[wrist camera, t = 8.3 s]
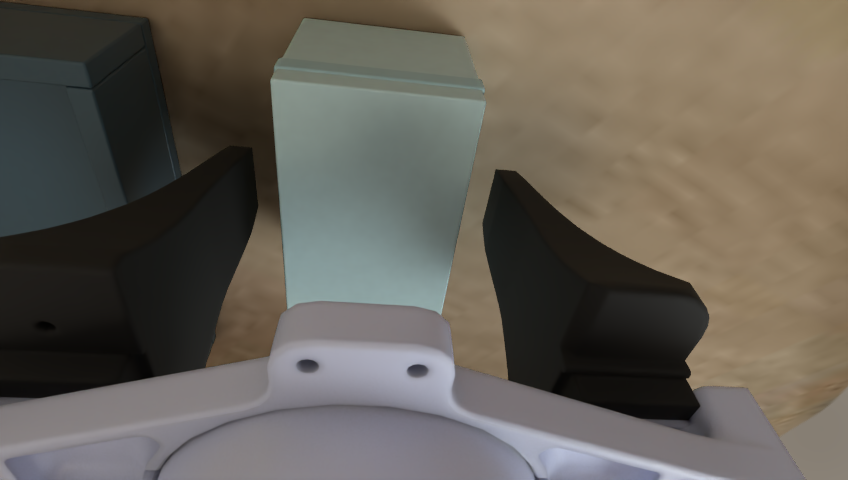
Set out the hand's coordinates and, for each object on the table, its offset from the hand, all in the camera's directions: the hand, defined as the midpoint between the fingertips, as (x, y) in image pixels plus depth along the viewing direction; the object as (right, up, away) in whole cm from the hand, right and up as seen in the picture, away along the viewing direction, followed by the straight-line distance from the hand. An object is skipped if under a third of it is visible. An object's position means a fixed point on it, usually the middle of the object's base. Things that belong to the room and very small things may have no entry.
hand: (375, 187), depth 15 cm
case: (0, +1, +1) cm, 2 cm away
